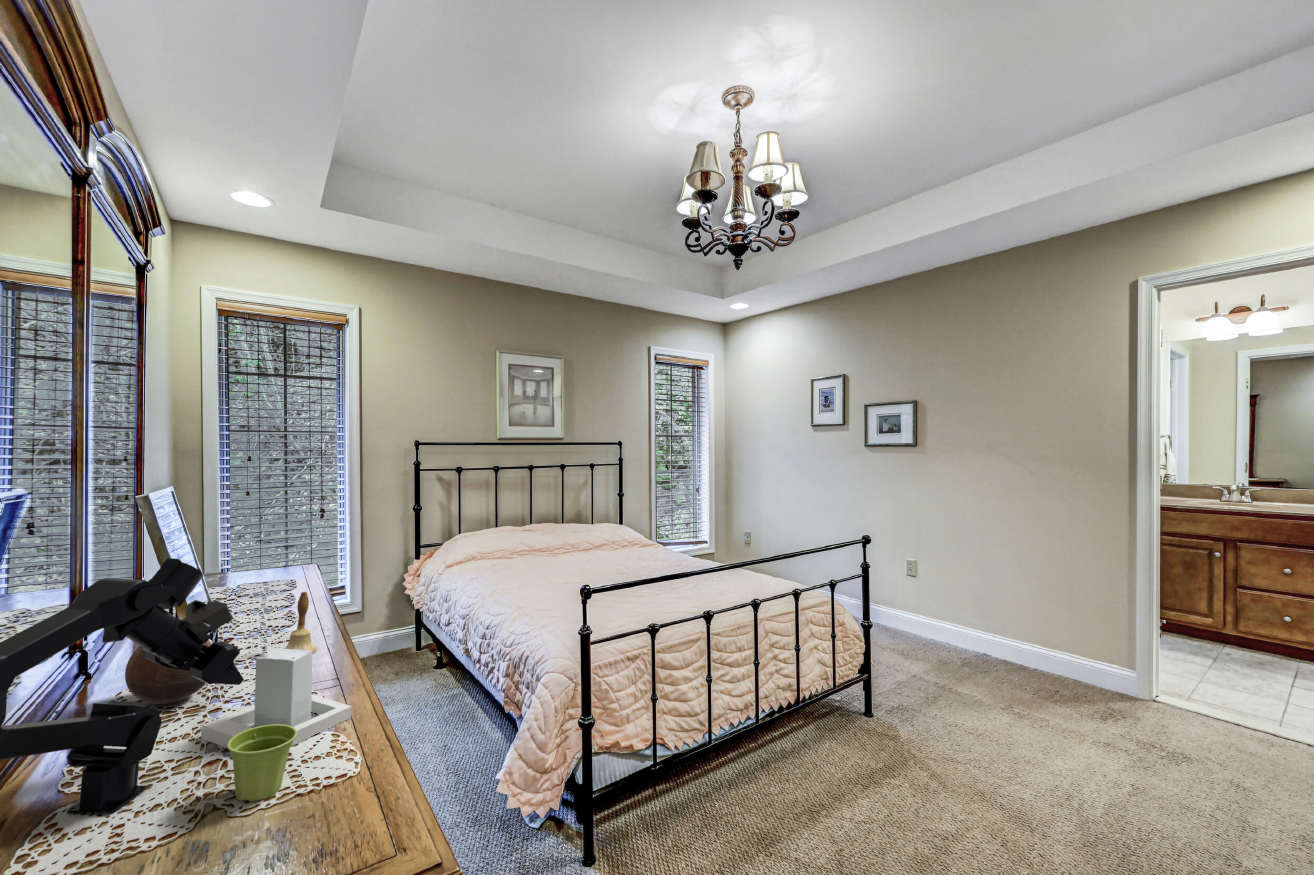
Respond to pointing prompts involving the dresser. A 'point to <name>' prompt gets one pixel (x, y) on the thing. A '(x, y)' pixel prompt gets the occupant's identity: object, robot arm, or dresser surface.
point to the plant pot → (260, 760)
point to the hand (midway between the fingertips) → (226, 676)
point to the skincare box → (283, 687)
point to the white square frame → (330, 715)
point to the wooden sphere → (159, 680)
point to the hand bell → (301, 628)
